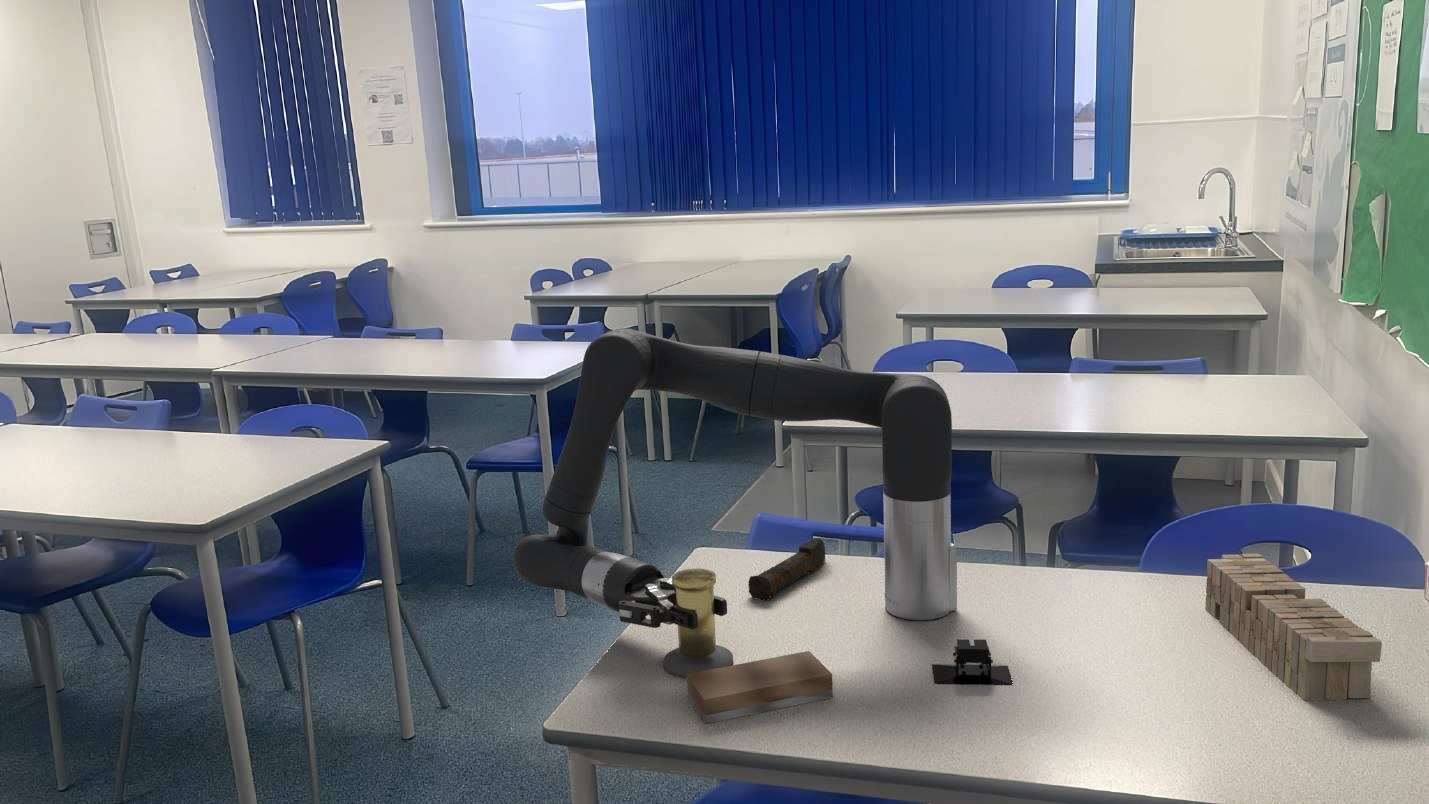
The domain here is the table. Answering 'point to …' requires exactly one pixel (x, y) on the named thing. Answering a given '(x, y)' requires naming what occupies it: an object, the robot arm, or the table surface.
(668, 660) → the rubber pad
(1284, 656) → the block tower
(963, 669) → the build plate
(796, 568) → the hand tool
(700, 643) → the flanged brass cylinder
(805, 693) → the body
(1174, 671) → the table surface
